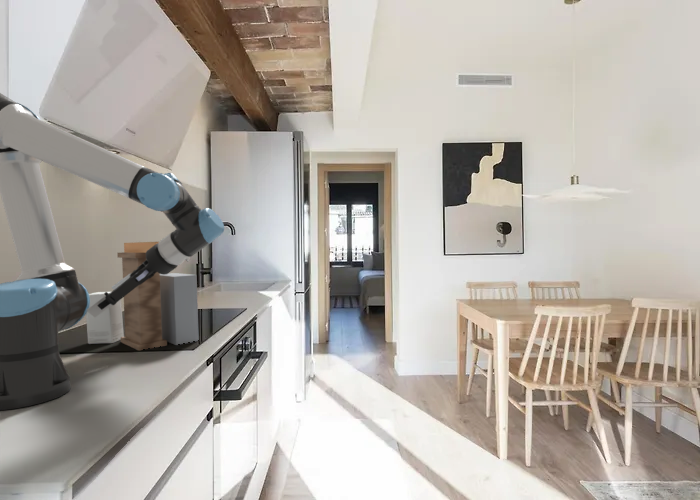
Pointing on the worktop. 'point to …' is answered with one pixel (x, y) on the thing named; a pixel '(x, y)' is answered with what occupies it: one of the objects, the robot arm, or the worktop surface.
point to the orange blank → (138, 247)
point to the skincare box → (104, 322)
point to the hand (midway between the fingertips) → (104, 301)
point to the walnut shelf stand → (142, 307)
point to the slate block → (179, 308)
